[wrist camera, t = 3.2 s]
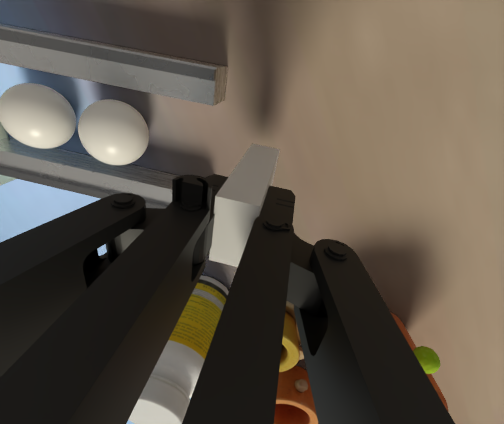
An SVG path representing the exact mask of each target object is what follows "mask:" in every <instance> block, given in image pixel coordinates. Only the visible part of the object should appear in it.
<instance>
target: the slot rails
mask: <svg viewBox="0 0 504 424" xmlns="http://www.w3.org/2000/svg"><path fill="white" fill-rule="evenodd" d="M0 63H4V64H9V65H14V66H19V67H24V68H29V69H34V70H39V71H44V72H49V73H54V74H59V75H64V76H69V77H74V78H79V79H83V80H88V81H93V82H98V83H103V84H108V85H113V86H118V87H123V88H128V89H133V90H138V91H143V92H148V93H153V94H158V95H163V96H168V97H173V98H178V99H183V100H188V101H192V102H197V103H202V104H207V105H212V106H214V105H216V104H218V103H220V102H222V101H224V99H225V89H226V79H227V69H228V67H227V66H222V65H216V64H211V63H206V62H200V61H195V60H190V59H185V58H179V57H174V56H169V55H164V54H158V53H153V52H148V51H142V50H137V49H132V48H127V47H121V46H116V45H111V44H106V43H100V42H95V41H90V40H85V39H79V38H74V37H69V36H63V35H58V34H53V33H48V32H42V31H37V30H32V29H27V28H21V27H16V26H11V25H5V24H0ZM0 175H4V176H9V177H13V178H17V179H21V180H25V181H30V182H34V183H38V184H42V185H47V186H51V187H55V188H59V189H64V190H68V191H72V192H76V193H80V194H85V195H89V196H93V197H97V198H102V199H103V198H105V197H107V196H110V195H113V194H119V193H133V194H136V195H139V196H141V197H143V198H144V200H145V202H146V208H166V207H167V206H168V205H169V204H170V203H171V202H172V179H174V178H176V177H178V176H179V175H175V174H170V173H166V172H161V171H157V170H152V169H148V168H143V167H139V166H134V165H130V164H125V165H110V164H106V163H104V162H101V161H99V160H97V159H96V158H94V157H93V156H90V155H85V154H81V153H77V152H72V151H68V150H63V149H59V148H48V149H42V148H35V147H31V146H28V145H25V144H23V143H21V142H19V141H18V140H16V139H14V138H10V137H8V138H4V139H0Z"/></svg>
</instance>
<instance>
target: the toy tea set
mask: <svg viewBox="0 0 504 424" xmlns="http://www.w3.org/2000/svg"><path fill="white" fill-rule="evenodd" d="M390 313H391V312H390ZM391 314H392V316H393V318H394V320H395V321H396V323H397V325H398V326H399V328H400V330H401V332H402V333H403V335H404V337H405V338H406V340H407V342H408V344H409V345H410V347H411V349H412V351H413V352H414V354H415V356H416V357H417V359H418V361H419V363H420V364H421V366H422V368H423V369H424V371H425V373H426V375H427V376H428V378H429V380H430V382H431V383H432V385H433V387H434V388H435V390H436V392H437V394H438V395H439V397H440V399H441V400H442V402H443V404H444V406H445V407H446V409H447V411H448V406H447V403H446V400H445V398H444V396H443V394H442V392H441V390H440V388H439V387H438V385H437V383H436V382H435V380H434V378H433V376H432V375H431V374H432V373H435V372H436V371H437V370H438V369H439V367H440V360H439V357H438V355H437V354H436V353H435V352H434V351H433V350H432V349H431V348H428V347H424V346H421V347H417V348H416V346H415V344H414V342H413V341H412V339H411V337H410V335H409V333H408V332H407V330H406V328H405V326H404V325H403V323H402V322H401V320H400V319H399V318H398V317H397V316H396V315H395V314H393V313H391ZM300 344H301V341H300V336H299V332H298V327H297V323H296V318H295V313H294V304H292V303H290V302H288V301H286V311H285V321H284V330H283V340H282V350H281V359H280V369H279V379H278V388H277V398H276V408H275V417H274V424H319V423H318V419H317V414H316V410H315V405H314V401H313V396H312V391H311V387H310V382H309V378H308V373H307V371H306V370H305V369H303V368H301V367H299V366H296V364H297V363H298V361H299V360H302V359H304V355H303V350H302V347H300V346H299V345H300Z"/></svg>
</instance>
